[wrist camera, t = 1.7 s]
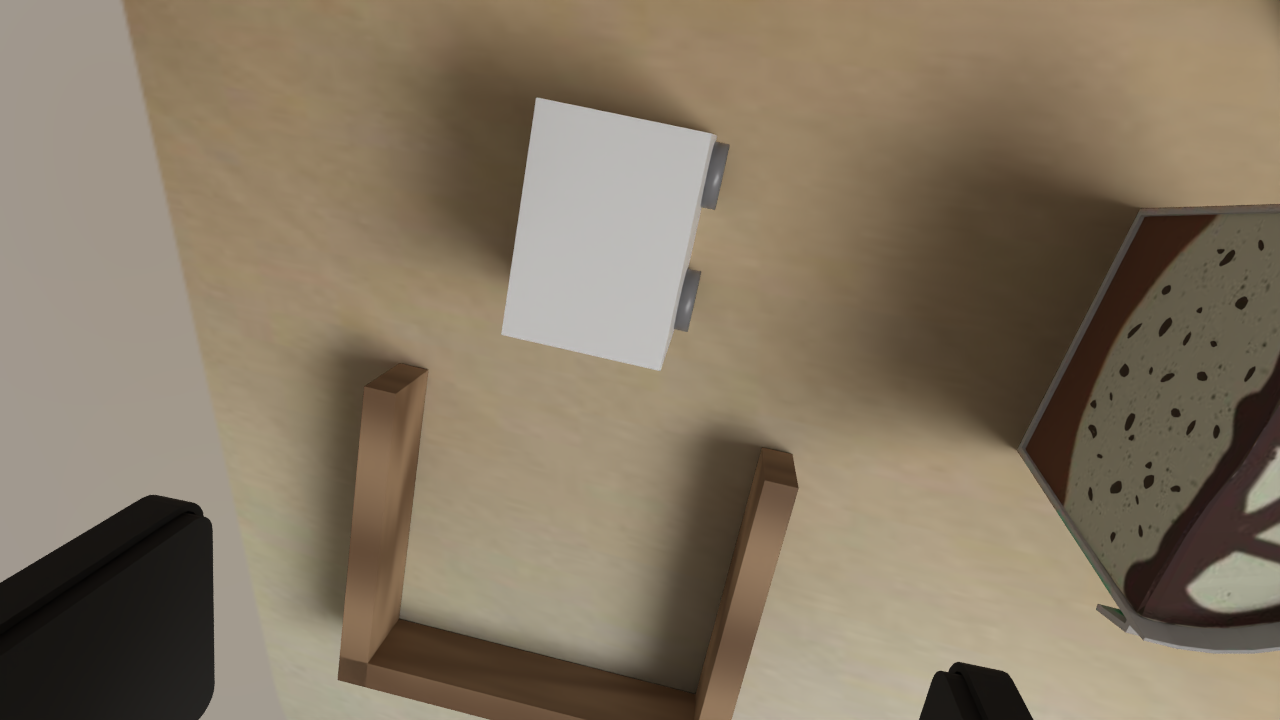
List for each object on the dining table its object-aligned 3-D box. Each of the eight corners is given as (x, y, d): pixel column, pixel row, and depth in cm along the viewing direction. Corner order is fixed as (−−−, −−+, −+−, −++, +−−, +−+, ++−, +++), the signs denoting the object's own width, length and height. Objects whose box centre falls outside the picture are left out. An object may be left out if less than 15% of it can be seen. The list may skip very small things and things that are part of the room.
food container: (1155, 536, 28) (1370, 738, 19) (999, 484, 28) (1133, 657, 19) (1344, 222, 24) (1733, 273, 15) (1162, 164, 25) (1432, 177, 15)
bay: (399, 363, 30) (364, 386, 27) (792, 454, 29) (798, 488, 26) (371, 634, 34) (337, 679, 31) (716, 722, 33) (714, 777, 30)
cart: (566, 104, 27) (518, 93, 21) (731, 138, 26) (729, 137, 20) (535, 293, 29) (485, 331, 23) (688, 328, 28) (676, 374, 23)
